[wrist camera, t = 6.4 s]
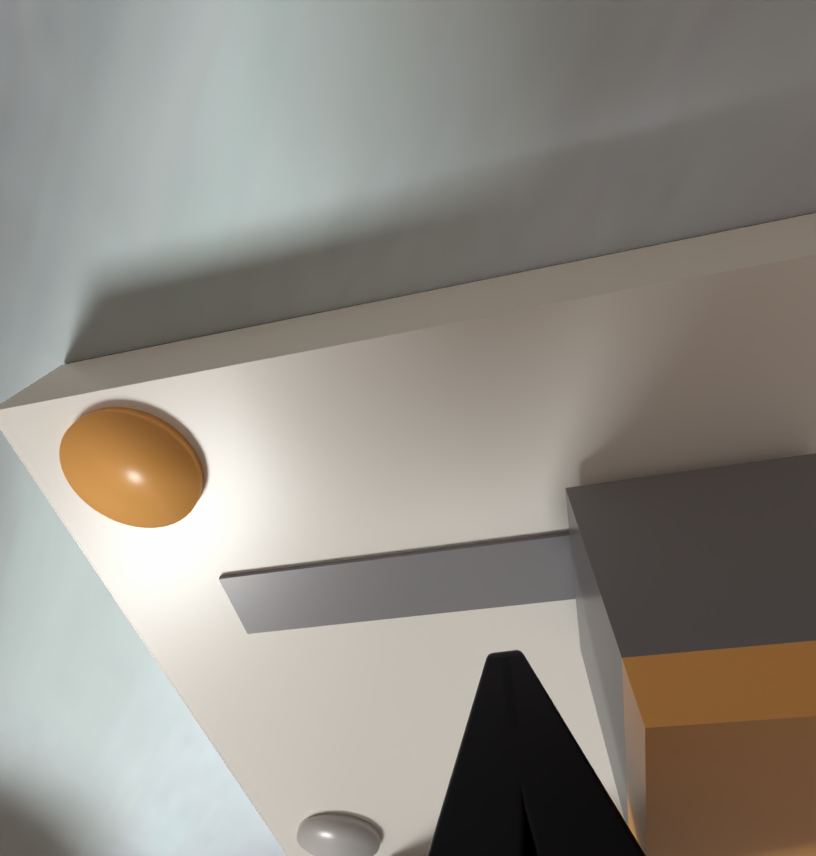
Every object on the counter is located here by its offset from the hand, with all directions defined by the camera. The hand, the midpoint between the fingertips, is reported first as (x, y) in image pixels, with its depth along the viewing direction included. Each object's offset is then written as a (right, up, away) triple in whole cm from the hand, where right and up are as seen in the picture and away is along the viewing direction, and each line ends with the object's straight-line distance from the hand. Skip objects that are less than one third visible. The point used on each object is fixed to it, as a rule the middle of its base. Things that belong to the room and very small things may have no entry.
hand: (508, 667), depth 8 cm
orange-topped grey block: (+3, +1, +1) cm, 4 cm away
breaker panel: (+1, -3, +6) cm, 7 cm away
